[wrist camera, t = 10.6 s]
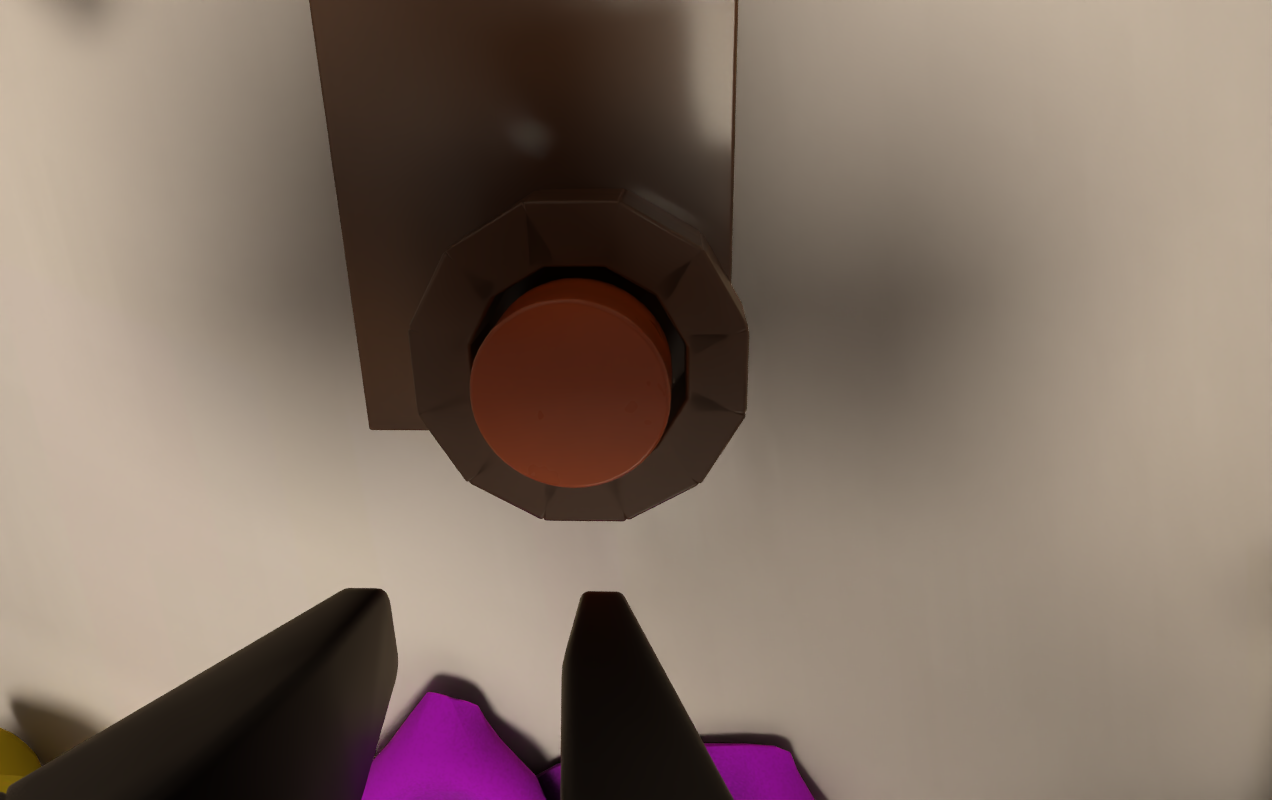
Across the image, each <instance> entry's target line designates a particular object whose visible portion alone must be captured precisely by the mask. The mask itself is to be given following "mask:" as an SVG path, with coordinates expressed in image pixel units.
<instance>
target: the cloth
mask: <svg viewBox="0 0 1272 800" xmlns="http://www.w3.org/2000/svg"><path fill="white" fill-rule="evenodd" d="M704 745H705V747H706V749H707V751H708V752H709V754H710V756H711V758H712V760H713V762H714V764H715V765H716V767H717V769H718V771H719V773H720V775H721V777H722V778H723V780H724V782H725V784H726V786H727V788H728V790H729V791H730V793H731V795H732V797H733V799H734V800H815V799H814V797H813V796H812V794H811V792H810V791H809V789H808V787H807V786H806V784H805V782H804V781H803V779H802V777H801V776H800V774H799V772H798V770H797V768H796V765H795V763H794V760H793V758H792V755H791V753H790V752H789V751H786V750H783V749H781V748H778V747H777V746H772V745H758V744H720V743H704ZM560 785H561V763H559V764H556V765H554V766H552V767H551V768H549V769H547V770H545V771H543V772H541V773H540V774H538V775H535V774H534V773H533V772H532V771H531V770H530V769H529V768H528V767H527V766H526V765H525V764H524V763H523V762H522V761H521V760H520V759H519V758H518V757H517V756H516V755H515V754H514V753H513V752H512V750H511V749H510V748H509V747H508V746H507V745H506V744H505V743H504V742H503V741H502V740H501V739H500V737H499V736H498V735H497V733H496V732H495V731H494V729H493V728H492V727H491V725H490V724H489V723H488V721H487V720H486V719H485V717H484V715H483V713H482V711H481V710H480V708H479V706H478V705H476V704H473V703H471V702H468V701H465V700H461V699H457V698H453V697H449V696H446V695H443V694H439V693H433V692H427V693H426V695H425V696H424V697H423V698H422V700H421V701H420V702H419V704H418V705H417V706H416V707H415V709H414V710H413V711H412V713H411V714H410V715H409V716H408V718H407V719H406V720H405V722H404V723H403V724H402V726H401V727H400V728H399V730H398V731H397V732H396V734H395V735H394V736H393V738H392V739H391V740H390V742H389V743H388V744H387V745H386V746H385V748H384V749H383V750H382V751H381V752H380V753H379V754H378V755H377V756H376V758H375V759H374V760H373V761H372V765H371V768H370V772H369V775H368V779H367V782H366V786H365V789H364V793H363V796H362V799H361V800H560Z"/></svg>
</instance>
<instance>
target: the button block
mask: <svg viewBox="0 0 1272 800" xmlns="http://www.w3.org/2000/svg"><path fill="white" fill-rule="evenodd" d="M309 3H310V10H311V17H312V24H313V31H314V39H315V46H316V53H317V60H318V67H319V74H320V81H321V88H322V95H323V102H324V109H325V116H326V124H327V131H328V138H329V145H330V152H331V159H332V166H333V173H334V180H335V187H336V194H337V201H338V209H339V216H340V223H341V230H342V237H343V244H344V251H345V258H346V265H347V272H348V279H349V286H350V294H351V301H352V308H353V315H354V322H355V329H356V336H357V343H358V350H359V357H360V364H361V371H362V379H363V386H364V393H365V400H366V407H367V414H368V421H369V428H370V429H371V430H429V431H430V432H431V434H432V435H433V436H434V438H435V439H436V440H437V442H438V443H439V444H440V446H441V447H442V449H443V450H444V451H445V453H446V454H447V455H448V457H449V458H450V460H451V461H452V462H453V464H454V465H455V466H456V468H457V469H458V471H459V472H460V473H461V475H462V476H463V477H464V479H465V480H466V481H467V482H468V481H470V483H471V484H473V485H475V486H477V487H478V488H480V489H482V490H484V491H486V492H488V493H490V494H492V495H494V496H496V497H498V498H500V499H502V500H504V501H506V502H508V503H510V504H512V505H514V506H516V507H518V508H520V509H522V510H524V511H526V512H528V513H530V514H532V515H534V516H536V517H538V518H540V519H542V518H544V520H550V521H625V520H626V519H632V518H634V517H636V516H637V515H639V514H641V513H643V512H645V511H647V510H649V509H651V508H653V507H655V506H657V505H659V504H661V503H663V502H665V501H667V500H669V499H671V498H673V497H675V496H677V495H679V494H681V493H683V492H685V491H687V490H689V489H691V488H693V487H695V486H697V485H698V483H701V482H703V480H704V479H705V477H706V476H707V474H708V473H709V471H710V469H711V468H712V466H713V465H714V463H715V462H716V460H717V459H718V457H719V456H720V454H721V453H722V451H723V450H724V448H725V447H726V445H727V444H728V442H729V441H730V439H731V438H732V436H733V435H734V433H735V432H736V430H737V429H738V427H739V426H740V424H741V423H742V421H743V420H744V418H745V412H746V410H747V387H748V357H749V330H748V324H747V320H746V316H745V313H744V309H743V305H742V302H741V301H740V299H739V297H738V295H737V294H736V292H735V290H734V288H733V286H732V285H731V275H732V235H733V194H734V153H735V113H736V72H737V31H738V0H309ZM563 278H590V279H595V280H600V281H604V282H607V283H610V284H613V285H615V286H617V287H619V288H621V289H623V290H625V291H627V292H628V293H630V294H631V295H633V296H634V297H636V298H637V299H638V300H639V301H640V302H642V303H643V304H644V305H645V306H646V307H647V308H648V309H649V311H650V312H651V313H652V314H653V315H654V317H655V318H656V320H657V321H658V322H659V324H660V326H661V328H662V330H663V332H664V334H665V336H666V339H667V342H668V344H669V348H670V353H671V360H672V388H671V408H670V414H669V418H668V422H667V425H666V428H665V431H664V433H663V435H662V437H661V439H660V441H659V443H658V444H657V446H656V447H655V448H654V450H653V451H652V452H651V454H650V455H649V456H648V457H647V458H646V459H645V460H644V461H643V462H642V463H641V464H640V465H638V466H637V467H636V468H635V469H633V470H632V471H630V472H629V473H627V474H625V475H624V476H622V477H619V478H617V479H615V480H613V481H610V482H607V483H604V484H601V485H596V486H591V487H581V488H568V487H558V486H553V485H548V484H545V483H542V482H538V481H536V480H533V479H531V478H529V477H527V476H524V475H523V474H521V473H519V472H518V471H516V470H514V469H513V468H512V467H510V466H509V465H508V464H506V463H505V462H504V461H503V460H502V459H501V458H500V457H499V456H498V455H497V454H496V453H495V452H494V451H493V450H492V448H491V447H490V446H489V445H488V443H487V442H486V440H485V439H484V437H483V435H482V434H481V432H480V430H479V428H478V425H477V423H476V421H475V418H474V415H473V411H472V407H471V401H470V386H469V384H470V375H471V369H472V366H473V362H474V359H475V356H476V354H477V352H478V349H479V347H480V346H481V344H482V342H483V341H484V339H485V337H486V336H487V335H488V334H489V332H490V331H491V330H492V328H493V327H494V326H495V324H496V323H497V322H498V320H499V319H500V318H501V316H502V315H503V314H504V313H505V311H506V310H507V309H508V308H509V306H510V305H511V304H512V303H513V302H514V301H516V300H517V299H518V298H519V297H520V296H522V295H523V294H524V293H526V292H527V291H529V290H531V289H533V288H535V287H537V286H539V285H541V284H544V283H547V282H549V281H553V280H558V279H563Z"/></svg>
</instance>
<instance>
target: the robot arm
mask: <svg viewBox="0 0 1272 800" xmlns="http://www.w3.org/2000/svg"><path fill="white" fill-rule="evenodd" d="M397 669H398V653H397V646H396V639H395V632H394V625H393V618H392V612H391V605H390V600H389V598H388V595H387V593H386V592H385V591H383V590H382V589H377V588H347V589H344V590H342V591H340V592H338V593H336V594H335V595H333V596H331V597H330V598H328V599H326V600H325V601H323V602H321V603H319V604H318V605H316V606H314V607H313V608H311V609H309V610H307V611H306V612H304V613H302V614H301V615H299V616H297V617H296V618H294V619H292V620H290V621H289V622H287V623H285V624H284V625H282V626H280V627H279V628H277V629H275V630H273V631H272V632H270V633H268V634H267V635H265V636H263V637H261V638H260V639H258V640H256V641H255V642H253V643H251V644H250V645H248V646H246V647H244V648H243V649H241V650H239V651H238V652H236V653H234V654H233V655H231V656H229V657H227V658H226V659H224V660H222V661H221V662H219V663H217V664H216V665H214V666H212V667H210V668H209V669H207V670H205V671H204V672H202V673H200V674H198V675H197V676H195V677H193V678H192V679H190V680H188V681H187V682H185V683H183V684H181V685H180V686H178V687H176V688H175V689H173V690H171V691H170V692H168V693H166V694H164V695H163V696H161V697H159V698H158V699H156V700H154V701H152V702H151V703H149V704H147V705H146V706H144V707H142V708H141V709H139V710H137V711H135V712H134V713H132V714H130V715H129V716H127V717H125V718H124V719H122V720H120V721H118V722H117V723H115V724H113V725H112V726H110V727H108V728H106V729H105V730H103V731H101V732H100V733H98V734H96V735H95V736H93V737H91V738H89V739H88V740H86V741H84V742H83V743H81V744H79V745H78V746H76V747H74V748H72V749H71V750H69V751H67V752H66V753H64V754H62V755H60V756H59V757H57V758H55V759H54V760H52V761H50V762H49V763H47V764H45V765H43V766H42V767H40V768H38V769H37V770H35V771H33V772H32V773H30V774H28V775H26V776H25V777H23V778H21V779H20V780H18V781H16V782H14V783H13V784H11V785H10V786H9V787H8V789H7V791H6V794H5V793H4V792H0V800H361V799H362V796H363V793H364V789H365V786H366V782H367V779H368V775H369V772H370V768H371V765H372V761H373V758H374V754H375V751H376V747H377V744H378V740H379V737H380V733H381V729H382V726H383V722H384V719H385V715H386V712H387V708H388V705H389V701H390V698H391V694H392V691H393V687H394V684H395V680H396V676H397ZM560 800H734V799H733V797H732V795H731V793H730V791H729V790H728V788H727V786H726V784H725V782H724V780H723V778H722V777H721V775H720V773H719V771H718V769H717V767H716V765H715V764H714V762H713V760H712V758H711V756H710V754H709V752H708V751H707V749H706V747H705V745H704V743H703V741H702V740H701V738H700V736H699V734H698V732H697V730H696V728H695V727H694V725H693V723H692V721H691V719H690V717H689V715H688V714H687V712H686V710H685V708H684V706H683V704H682V702H681V701H680V699H679V697H678V695H677V693H676V691H675V689H674V688H673V686H672V684H671V682H670V680H669V678H668V676H667V675H666V673H665V671H664V669H663V667H662V665H661V663H660V662H659V660H658V658H657V656H656V654H655V652H654V651H653V649H652V647H651V645H650V643H649V641H648V639H647V638H646V636H645V634H644V632H643V630H642V628H641V626H640V625H639V623H638V621H637V619H636V617H635V615H634V613H633V612H632V610H631V608H630V606H629V604H628V602H627V600H626V599H625V597H624V596H623V594H621V593H620V592H595V591H588V592H585V593H584V594H582V596H581V598H580V602H579V605H578V609H577V612H576V616H575V619H574V623H573V627H572V630H571V634H570V637H569V641H568V645H567V648H566V652H565V656H564V661H563V667H562V693H561V785H560Z"/></svg>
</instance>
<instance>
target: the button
mask: <svg viewBox="0 0 1272 800" xmlns="http://www.w3.org/2000/svg"><path fill="white" fill-rule="evenodd" d="M469 386H470V401H471V407H472V411H473V415H474V418H475V421H476V423H477V425H478V428H479V430H480V432H481V434H482V435H483V437H484V439H485V440H486V442H487V443H488V445H489V446H490V447H491V448H492V450H493V451H494V452H495V453H496V454H497V455H498V456H499V457H500V458H501V459H502V460H503V461H504V462H505V463H506V464H508V465H509V466H510V467H512V468H513V469H514V470H516V471H518V472H519V473H521V474H523V475H524V476H527V477H529V478H531V479H533V480H536V481H538V482H542V483H545V484H548V485H553V486H558V487H568V488H581V487H591V486H596V485H601V484H604V483H607V482H610V481H613V480H615V479H617V478H619V477H622V476H624V475H625V474H627V473H629V472H630V471H632V470H633V469H635V468H636V467H637V466H638V465H640V464H641V463H642V462H643V461H644V460H645V459H646V458H647V457H648V456H649V455H650V454H651V452H652V451H653V450H654V448H655V447H656V446H657V444H658V443H659V441H660V439H661V437H662V435H663V433H664V431H665V428H666V425H667V422H668V418H669V414H670V408H671V388H672V360H671V353H670V348H669V344H668V342H667V339H666V336H665V334H664V332H663V330H662V328H661V326H660V324H659V322H658V321H657V320H656V318H655V317H654V315H653V314H652V313H651V312H650V311H649V309H648V308H647V307H646V306H645V305H644V304H643V303H642V302H640V301H639V300H638V299H637V298H636V297H634V296H633V295H631V294H630V293H628V292H627V291H625V290H623V289H621V288H619V287H617V286H615V285H613V284H610V283H607V282H604V281H600V280H595V279H590V278H563V279H558V280H553V281H549V282H547V283H544V284H541V285H539V286H537V287H535V288H533V289H531V290H529V291H527V292H526V293H524V294H523V295H522V296H520V297H519V298H518V299H517V300H516V301H514V302H513V303H512V304H511V305H510V306H509V308H508V309H507V310H506V311H505V313H504V314H503V315H502V316H501V318H500V319H499V320H498V322H497V323H496V324H495V326H494V327H493V328H492V330H491V331H490V332H489V334H488V335H487V336H486V337H485V339H484V341H483V342H482V344H481V346H480V347H479V349H478V352H477V354H476V356H475V359H474V362H473V366H472V369H471V375H470V384H469Z"/></svg>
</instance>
